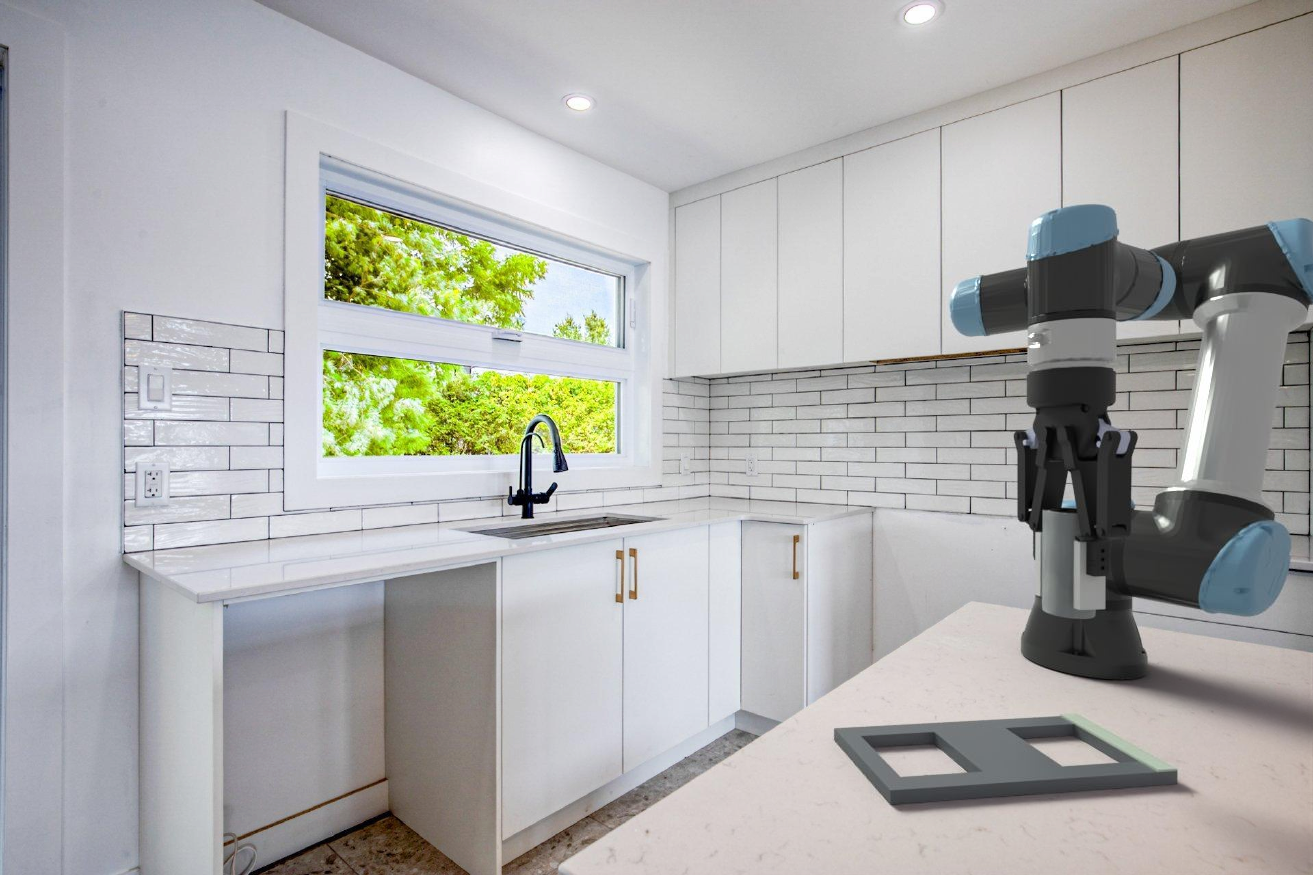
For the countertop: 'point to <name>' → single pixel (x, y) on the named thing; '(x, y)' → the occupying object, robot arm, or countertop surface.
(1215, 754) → the countertop surface
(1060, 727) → the panel
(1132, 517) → the robot arm
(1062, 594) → the grey hollow cylinder
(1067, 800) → the countertop surface
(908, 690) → the countertop surface
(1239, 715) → the countertop surface
